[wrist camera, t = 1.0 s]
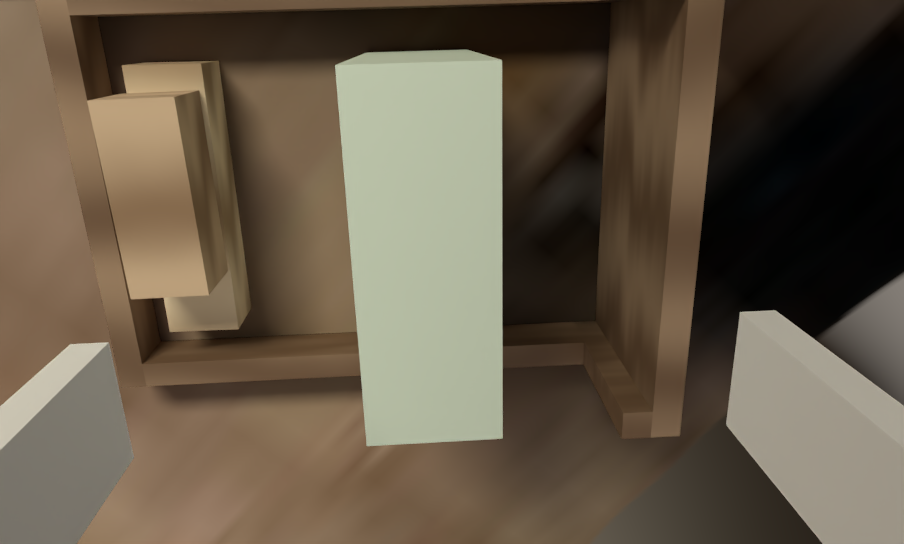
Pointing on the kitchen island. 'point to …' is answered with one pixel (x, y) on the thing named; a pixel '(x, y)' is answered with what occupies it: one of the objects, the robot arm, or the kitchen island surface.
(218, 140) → the block
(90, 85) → the rack
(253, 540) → the kitchen island surface
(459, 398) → the tall block
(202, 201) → the offcut short
